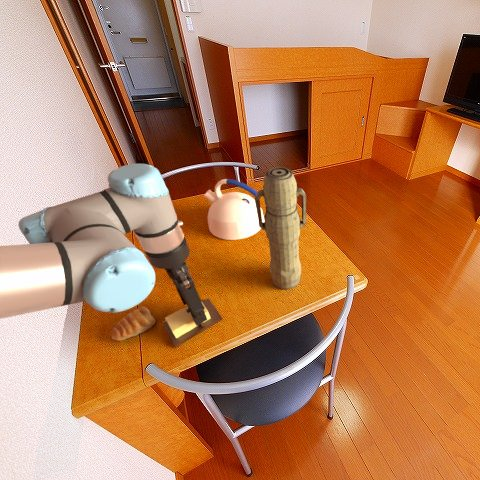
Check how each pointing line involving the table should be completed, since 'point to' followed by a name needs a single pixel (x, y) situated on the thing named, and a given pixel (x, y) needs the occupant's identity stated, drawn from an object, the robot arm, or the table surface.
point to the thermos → (282, 225)
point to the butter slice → (206, 314)
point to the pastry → (133, 324)
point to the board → (188, 335)
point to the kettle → (232, 212)
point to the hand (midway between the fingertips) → (195, 311)
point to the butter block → (181, 322)
